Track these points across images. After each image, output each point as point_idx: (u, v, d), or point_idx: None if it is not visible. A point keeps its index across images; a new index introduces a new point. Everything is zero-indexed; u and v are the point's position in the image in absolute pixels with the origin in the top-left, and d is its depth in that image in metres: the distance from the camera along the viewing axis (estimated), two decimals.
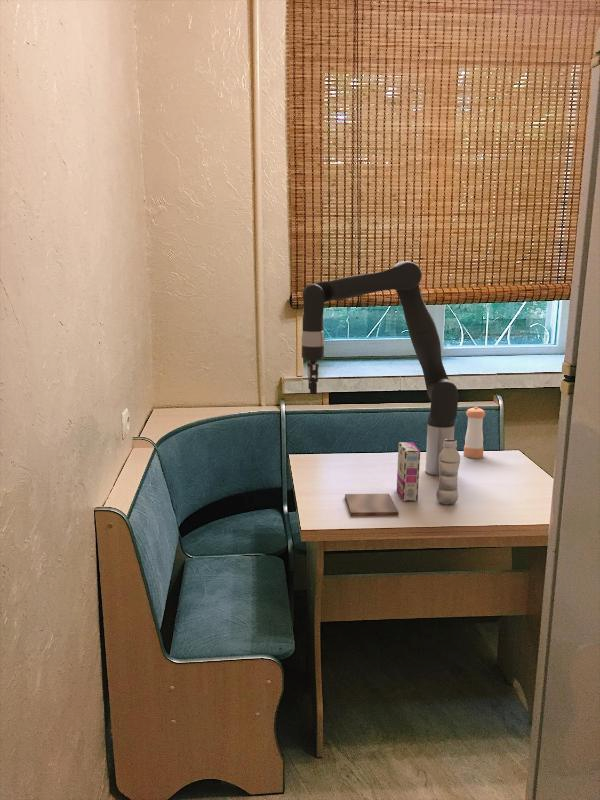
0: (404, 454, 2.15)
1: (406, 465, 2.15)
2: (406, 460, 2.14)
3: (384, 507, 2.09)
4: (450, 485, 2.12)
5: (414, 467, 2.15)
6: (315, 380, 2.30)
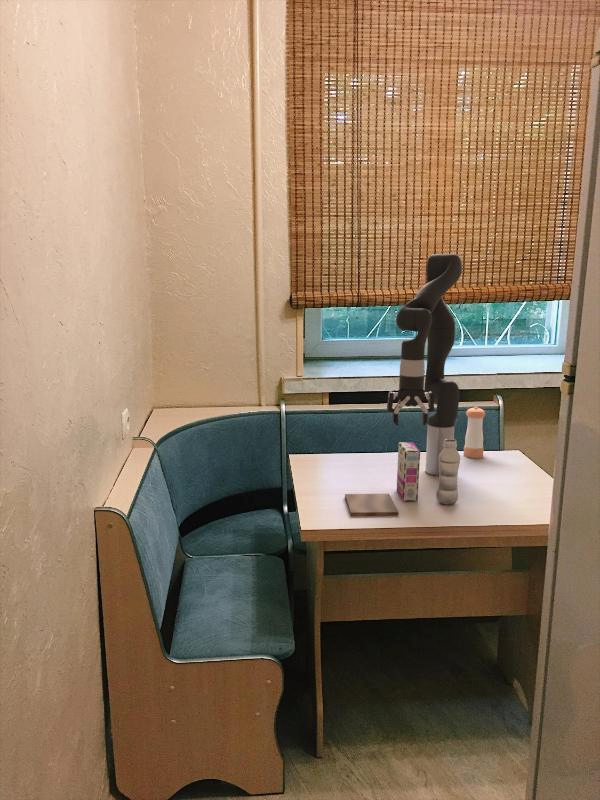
0: (404, 454, 2.15)
1: (406, 465, 2.15)
2: (406, 460, 2.14)
3: (384, 507, 2.09)
4: (450, 485, 2.12)
5: (414, 467, 2.15)
6: None
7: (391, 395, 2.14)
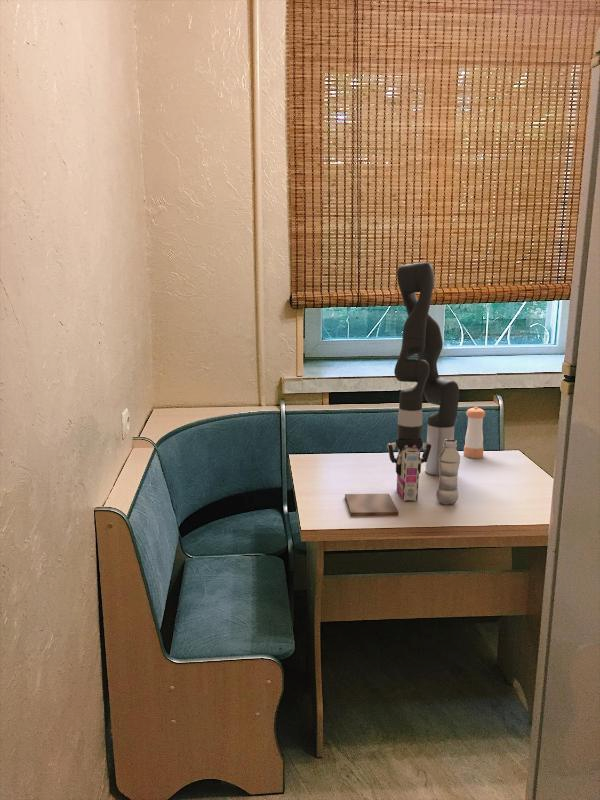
0: (404, 454, 2.15)
1: (406, 465, 2.15)
2: (406, 460, 2.14)
3: (384, 507, 2.09)
4: (450, 485, 2.12)
5: (414, 467, 2.15)
6: None
7: (390, 447, 2.17)
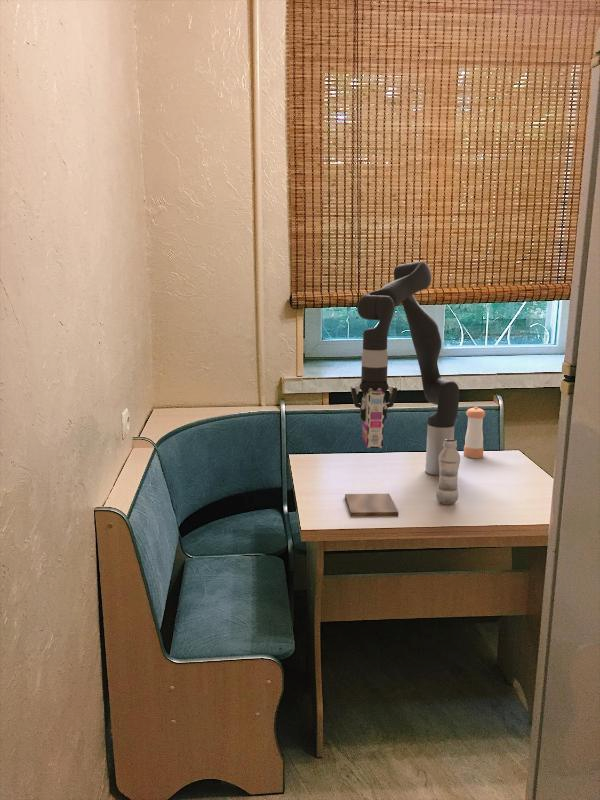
0: (368, 397, 2.01)
1: (370, 409, 2.01)
2: (370, 403, 2.01)
3: (384, 507, 2.09)
4: (450, 485, 2.12)
5: (378, 411, 2.01)
6: None
7: (353, 390, 2.04)
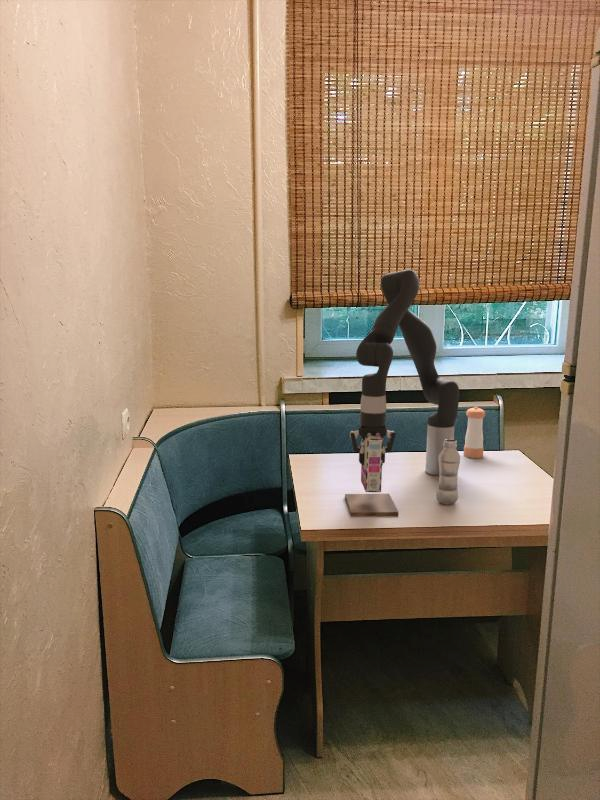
0: (366, 442, 2.04)
1: (368, 454, 2.04)
2: (368, 448, 2.04)
3: (384, 507, 2.09)
4: (450, 485, 2.12)
5: (377, 456, 2.04)
6: None
7: (352, 435, 2.07)
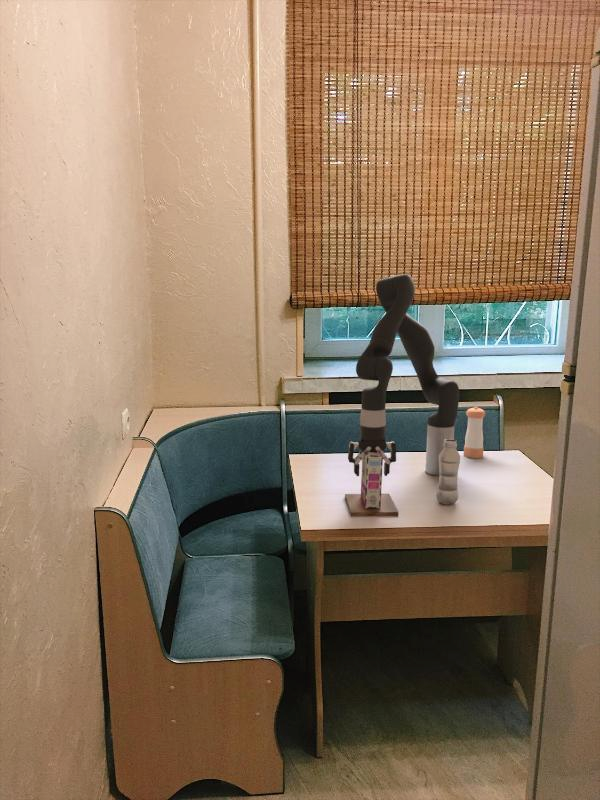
0: (366, 459, 2.05)
1: (368, 470, 2.05)
2: (368, 465, 2.05)
3: (384, 507, 2.09)
4: (450, 485, 2.12)
5: (376, 472, 2.05)
6: None
7: (351, 446, 2.07)
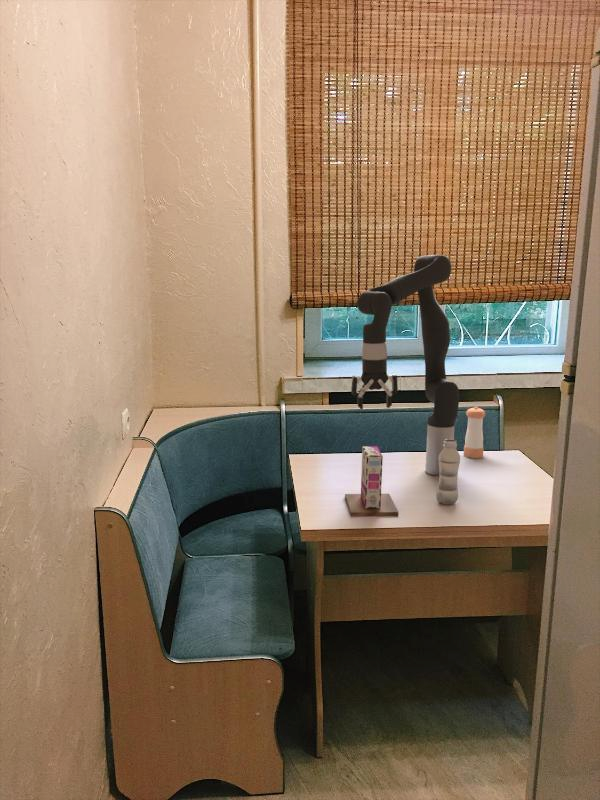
0: (366, 459, 2.05)
1: (368, 470, 2.05)
2: (368, 465, 2.05)
3: (384, 507, 2.09)
4: (450, 485, 2.12)
5: (376, 472, 2.05)
6: None
7: (355, 379, 2.15)
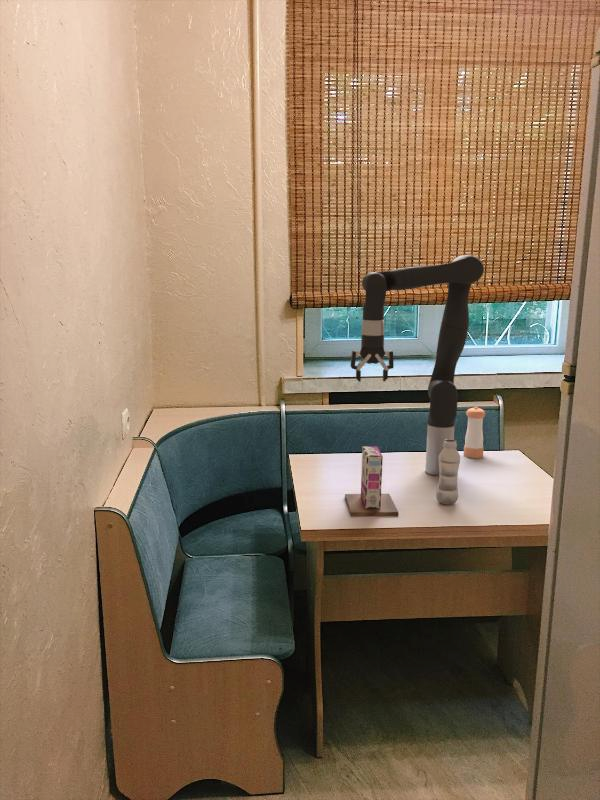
0: (366, 459, 2.05)
1: (368, 470, 2.05)
2: (368, 465, 2.05)
3: (384, 507, 2.09)
4: (450, 485, 2.12)
5: (376, 472, 2.05)
6: None
7: (354, 353, 2.33)
